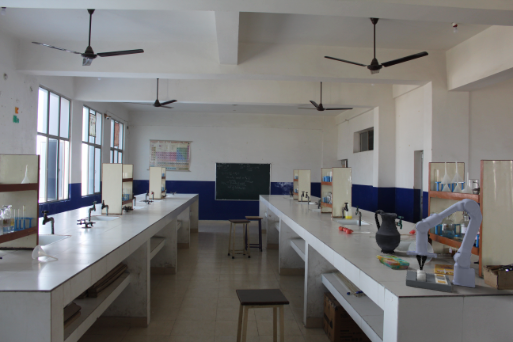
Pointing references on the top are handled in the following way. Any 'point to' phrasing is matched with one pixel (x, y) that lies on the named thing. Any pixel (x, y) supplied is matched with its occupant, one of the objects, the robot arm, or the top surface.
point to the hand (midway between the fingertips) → (421, 269)
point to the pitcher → (387, 232)
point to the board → (429, 281)
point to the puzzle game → (393, 261)
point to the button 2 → (421, 277)
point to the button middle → (421, 271)
